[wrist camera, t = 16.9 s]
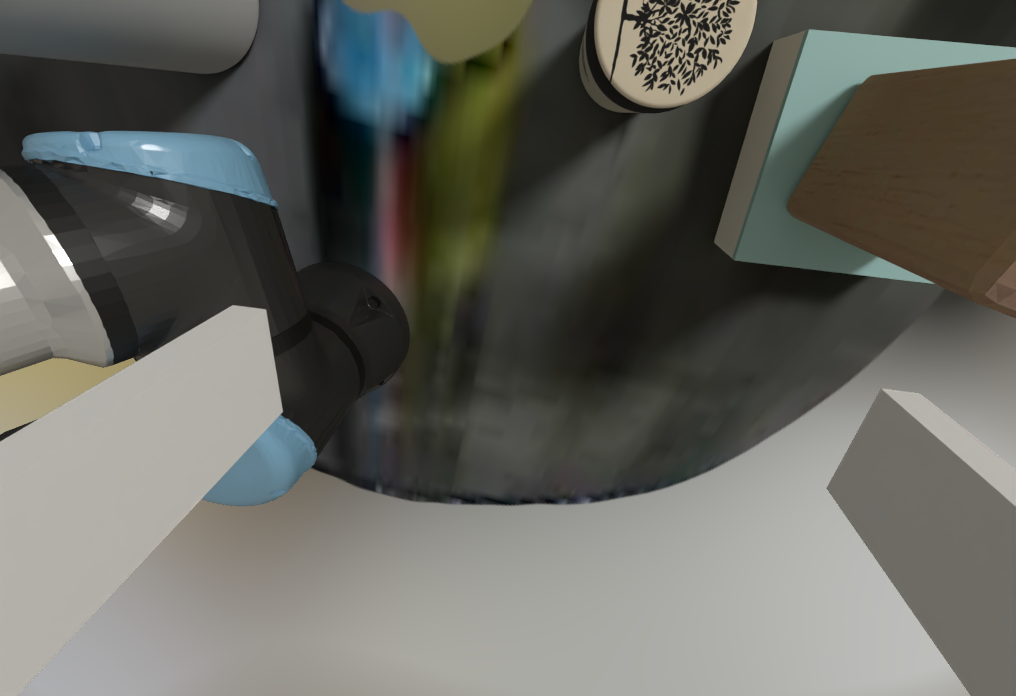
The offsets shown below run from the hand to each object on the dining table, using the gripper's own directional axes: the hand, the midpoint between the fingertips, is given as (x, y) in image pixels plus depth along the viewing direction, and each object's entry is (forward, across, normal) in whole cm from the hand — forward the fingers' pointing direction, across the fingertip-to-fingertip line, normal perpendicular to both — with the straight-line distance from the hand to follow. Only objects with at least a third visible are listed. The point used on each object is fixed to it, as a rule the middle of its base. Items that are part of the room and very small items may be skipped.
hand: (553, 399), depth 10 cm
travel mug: (+37, +4, +10) cm, 38 cm away
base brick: (+37, +23, +4) cm, 43 cm away
